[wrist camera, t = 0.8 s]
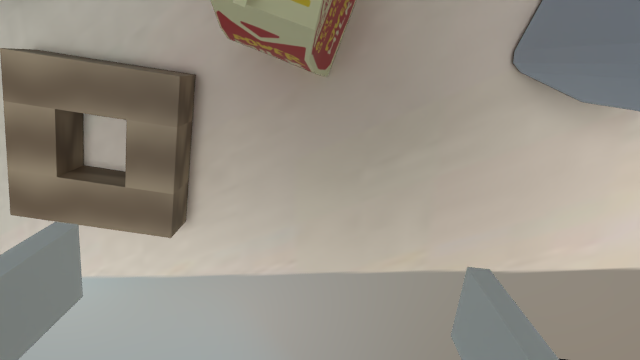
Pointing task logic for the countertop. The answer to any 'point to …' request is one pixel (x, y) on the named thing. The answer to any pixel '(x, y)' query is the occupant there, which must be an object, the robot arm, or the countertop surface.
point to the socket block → (67, 141)
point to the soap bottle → (585, 50)
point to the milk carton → (288, 28)
